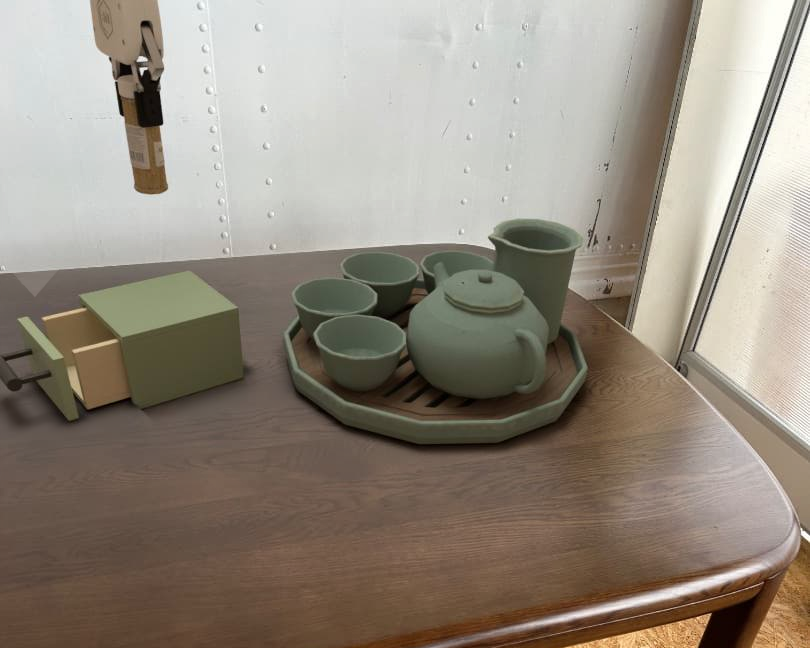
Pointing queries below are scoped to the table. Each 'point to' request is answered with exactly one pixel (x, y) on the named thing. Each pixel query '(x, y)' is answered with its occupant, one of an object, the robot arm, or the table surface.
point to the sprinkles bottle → (142, 144)
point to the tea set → (443, 339)
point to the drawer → (71, 361)
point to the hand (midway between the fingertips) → (141, 119)
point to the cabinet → (171, 335)
